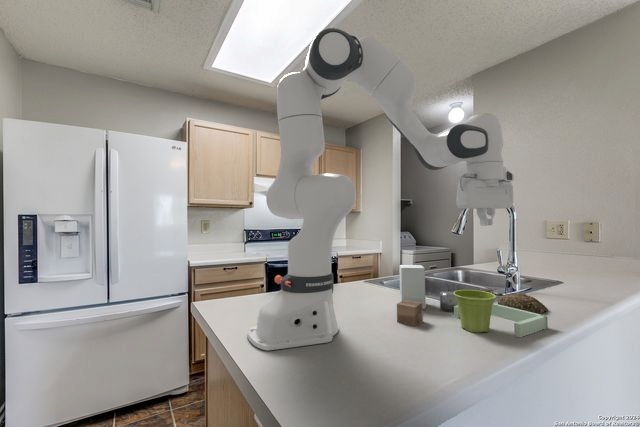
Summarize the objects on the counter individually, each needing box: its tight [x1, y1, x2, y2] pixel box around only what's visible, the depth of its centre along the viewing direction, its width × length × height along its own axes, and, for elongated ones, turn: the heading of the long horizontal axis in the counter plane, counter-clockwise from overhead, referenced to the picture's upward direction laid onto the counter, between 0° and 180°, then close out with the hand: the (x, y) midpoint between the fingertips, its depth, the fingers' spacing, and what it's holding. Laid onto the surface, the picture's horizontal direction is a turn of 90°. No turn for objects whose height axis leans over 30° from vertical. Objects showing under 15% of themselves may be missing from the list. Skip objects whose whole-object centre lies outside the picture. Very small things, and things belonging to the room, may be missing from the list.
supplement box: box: [398, 264, 427, 310], centre depth 95 cm, size 7×7×13 cm
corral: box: [453, 303, 549, 338], centre depth 78 cm, size 12×17×3 cm
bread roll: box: [497, 292, 549, 315], centre depth 91 cm, size 13×12×5 cm
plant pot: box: [452, 289, 497, 334], centre depth 74 cm, size 9×9×9 cm
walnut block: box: [396, 300, 424, 327], centre depth 80 cm, size 5×5×5 cm
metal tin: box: [439, 290, 458, 313], centre depth 90 cm, size 5×5×5 cm
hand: (486, 225), depth 81 cm, fingers closed
